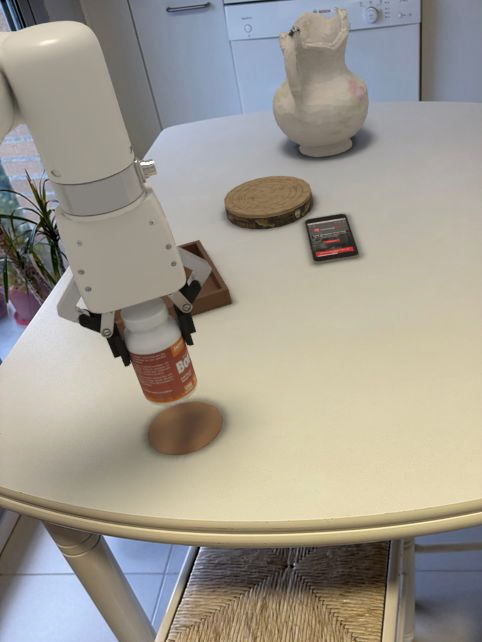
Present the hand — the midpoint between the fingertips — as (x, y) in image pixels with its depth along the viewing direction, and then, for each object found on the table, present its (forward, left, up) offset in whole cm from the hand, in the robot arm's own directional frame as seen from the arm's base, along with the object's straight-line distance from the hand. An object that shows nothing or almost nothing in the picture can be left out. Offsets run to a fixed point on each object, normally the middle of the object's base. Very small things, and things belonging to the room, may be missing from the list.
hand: (156, 347), depth 69 cm
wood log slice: (+28, +50, -13) cm, 59 cm away
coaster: (0, 0, -12) cm, 12 cm away
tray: (+4, +32, -12) cm, 35 cm away
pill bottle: (0, 0, -6) cm, 6 cm away
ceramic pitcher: (+47, +70, -13) cm, 85 cm away
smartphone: (+33, +33, -12) cm, 48 cm away
